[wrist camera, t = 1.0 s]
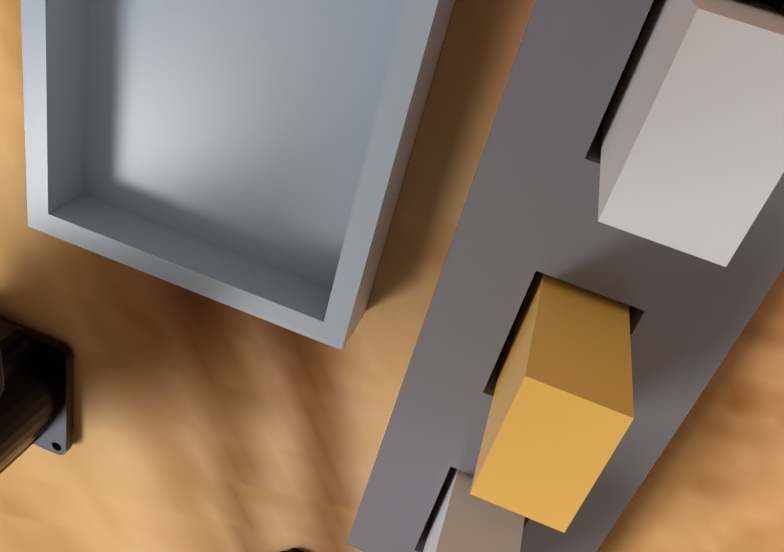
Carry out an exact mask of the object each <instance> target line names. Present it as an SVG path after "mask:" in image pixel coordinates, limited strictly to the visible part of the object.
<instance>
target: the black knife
mask: <svg viewBox="0 0 784 552" xmlns="http://www.w3.org/2000/svg"><path fill="white" fill-rule="evenodd" d="M282 552H304V551H302V550H298V549H295V548H292V549H290V550H288V551H282Z"/></svg>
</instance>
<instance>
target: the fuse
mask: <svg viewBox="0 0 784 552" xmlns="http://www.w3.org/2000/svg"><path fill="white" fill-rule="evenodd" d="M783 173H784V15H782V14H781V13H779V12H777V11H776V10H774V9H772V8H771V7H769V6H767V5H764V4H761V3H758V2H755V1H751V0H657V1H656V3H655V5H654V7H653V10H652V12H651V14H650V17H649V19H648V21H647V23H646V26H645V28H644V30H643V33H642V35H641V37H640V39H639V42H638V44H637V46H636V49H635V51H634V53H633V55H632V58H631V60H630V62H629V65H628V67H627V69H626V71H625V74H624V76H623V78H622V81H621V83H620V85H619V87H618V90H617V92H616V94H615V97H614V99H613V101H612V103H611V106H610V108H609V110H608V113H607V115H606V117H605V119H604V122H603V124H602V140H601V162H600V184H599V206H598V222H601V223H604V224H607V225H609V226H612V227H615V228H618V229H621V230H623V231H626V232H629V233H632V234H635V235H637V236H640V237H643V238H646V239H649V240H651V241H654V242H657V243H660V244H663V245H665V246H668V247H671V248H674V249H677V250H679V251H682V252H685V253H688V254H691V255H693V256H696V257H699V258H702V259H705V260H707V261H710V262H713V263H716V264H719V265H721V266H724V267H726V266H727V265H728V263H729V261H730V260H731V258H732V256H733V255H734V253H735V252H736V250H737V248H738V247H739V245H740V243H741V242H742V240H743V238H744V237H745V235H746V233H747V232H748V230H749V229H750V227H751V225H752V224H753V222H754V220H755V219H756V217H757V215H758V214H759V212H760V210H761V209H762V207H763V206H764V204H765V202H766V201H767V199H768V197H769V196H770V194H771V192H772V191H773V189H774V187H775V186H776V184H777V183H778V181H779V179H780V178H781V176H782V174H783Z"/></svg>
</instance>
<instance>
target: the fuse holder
mask: <svg viewBox="0 0 784 552" xmlns="http://www.w3.org/2000/svg"><path fill="white" fill-rule="evenodd" d="M653 1H654V0H536V2H535V5H534V8H533V11H532V13H531V16H530V19H529V22H528V25H527V28H526V31H525V34H524V36H523V39H522V42H521V45H520V48H519V51H518V54H517V56H516V59H515V62H514V65H513V68H512V71H511V74H510V77H509V79H508V82H507V85H506V88H505V91H504V94H503V97H502V99H501V102H500V105H499V108H498V111H497V114H496V117H495V120H494V122H493V125H492V128H491V131H490V134H489V137H488V140H487V143H486V145H485V148H484V151H483V154H482V157H481V160H480V163H479V165H478V168H477V171H476V174H475V177H474V180H473V183H472V186H471V188H470V191H469V194H468V197H467V200H466V203H465V206H464V208H463V211H462V214H461V217H460V220H459V223H458V226H457V229H456V231H455V234H454V237H453V240H452V243H451V246H450V249H449V251H448V254H447V257H446V260H445V263H444V266H443V269H442V272H441V274H440V277H439V280H438V283H437V286H436V289H435V292H434V294H433V297H432V300H431V303H430V306H429V309H428V312H427V315H426V317H425V320H424V323H423V326H422V329H421V332H420V335H419V338H418V340H417V343H416V346H415V349H414V352H413V355H412V358H411V360H410V363H409V366H408V369H407V372H406V375H405V378H404V381H403V383H402V386H401V389H400V392H399V395H398V398H397V401H396V403H395V406H394V409H393V412H392V415H391V418H390V421H389V424H388V426H387V429H386V432H385V435H384V438H383V441H382V444H381V446H380V449H379V452H378V455H377V458H376V461H375V464H374V467H373V469H372V472H371V475H370V478H369V481H368V484H367V487H366V489H365V492H364V495H363V498H362V501H361V504H360V507H359V510H358V512H357V515H356V518H355V521H354V524H353V527H352V530H351V532H350V535H349V538H348V541H347V544H348V545H350V546H353V547H355V548H357V549H360V550H362V551H364V552H423V550H424V547H425V543H426V540H427V536H428V533H429V530H430V526H431V523H432V519H433V516H434V513H435V509H436V506H437V504H436V503H435V501H436V499H437V497H438V495H439V492H440V490H441V488H442V485H443V483H444V481H445V478H446V476H447V474H448V472H449V469H450V467H453V468H456V469H458V470H461V471H463V472H466V473H468V474H470V475H473V476H474V474H475V470H476V465H477V461H478V457H479V453H480V449H481V445H482V441H483V437H484V433H485V428H486V424H487V420H488V416H489V412H490V408H491V404H492V400H493V396H494V392H495V387H496V383H497V379H498V375H499V371H500V367H501V363H502V359H503V355H504V352H501V350H502V348H503V345H504V343H505V341H506V338H507V336H508V334H509V331H510V329H511V327H512V325H513V322H514V320H515V318H516V315H517V313H518V311H519V309H520V306H521V304H522V302H523V299H524V297H525V295H526V292H527V290H528V288H529V286H530V283H531V281H532V279H533V276H534V274H535V272H536V271H538V272H541V273H543V274H546V275H549V276H551V277H554V278H557V279H560V280H562V281H565V282H568V283H570V284H573V285H576V286H579V287H581V288H584V289H587V290H589V291H592V292H595V293H597V294H600V295H603V296H606V297H608V298H611V299H614V300H616V301H619V302H622V303H625V304H627V305H629V317H630V339H631V362H632V384H633V406H634V419H633V421H632V423H631V424H630V426H629V428H628V429H627V431H626V432H625V434H624V436H623V437H622V439H621V441H620V442H619V444H618V446H617V447H616V449H615V451H614V452H613V454H612V455H611V457H610V459H609V460H608V462H607V464H606V465H605V467H604V469H603V470H602V472H601V474H600V475H599V477H598V478H597V480H596V482H595V483H594V485H593V487H592V488H591V490H590V492H589V493H588V495H587V497H586V498H585V500H584V501H583V503H582V505H581V506H580V508H579V510H578V511H577V513H576V515H575V516H574V518H573V520H572V521H571V523H570V524H569V526H568V528H567V529H566V531H565V533H563V532H561V531H559V530H556V529H554V528H551V527H549V526H546V525H544V524H542V523H539V522H537V521H534V520H532V519H529V518H527V517H525V520H524V527H523V534H522V541H521V548H520V552H596V551H597V550H598V548H599V547H600V545H601V544H602V542H603V541H604V539H605V538H606V536H607V535H608V533H609V532H610V530H611V529H612V527H613V526H614V524H615V523H616V521H617V520H618V518H619V517H620V515H621V514H622V512H623V511H624V509H625V508H626V506H627V505H628V503H629V502H630V500H631V499H632V497H633V496H634V494H635V493H636V491H637V490H638V488H639V487H640V485H641V484H642V482H643V481H644V479H645V478H646V476H647V475H648V473H649V471H650V470H651V468H652V467H653V465H654V464H655V462H656V461H657V459H658V458H659V456H660V455H661V453H662V452H663V450H664V449H665V447H666V446H667V444H668V443H669V441H670V440H671V438H672V437H673V435H674V434H675V432H676V431H677V429H678V428H679V426H680V425H681V423H682V422H683V420H684V419H685V417H686V416H687V414H688V413H689V411H690V410H691V408H692V407H693V405H694V404H695V402H696V401H697V399H698V398H699V396H700V395H701V393H702V391H703V390H704V388H705V387H706V385H707V384H708V382H709V381H710V379H711V378H712V376H713V375H714V373H715V372H716V370H717V369H718V367H719V366H720V364H721V363H722V361H723V360H724V358H725V357H726V355H727V354H728V352H729V351H730V349H731V348H732V346H733V345H734V343H735V342H736V340H737V339H738V337H739V336H740V334H741V333H742V331H743V330H744V328H745V327H746V325H747V324H748V322H749V321H750V319H751V318H752V316H753V315H754V313H755V312H756V310H757V308H758V307H759V305H760V304H761V302H762V301H763V299H764V298H765V296H766V295H767V293H768V292H769V290H770V289H771V287H772V286H773V284H774V283H775V281H776V280H777V278H778V277H779V275H780V274H781V272H782V271H783V269H784V173H783V174H782V176H781V178H780V179H779V181H778V183H777V184H776V186H775V187H774V189H773V191H772V192H771V194H770V196H769V197H768V199H767V201H766V202H765V204H764V206H763V207H762V209H761V210H760V212H759V214H758V215H757V217H756V219H755V220H754V222H753V224H752V225H751V227H750V229H749V230H748V232H747V233H746V235H745V237H744V238H743V240H742V242H741V243H740V245H739V247H738V248H737V250H736V252H735V253H734V255H733V256H732V258H731V260H730V261H729V263H728V265H727V266H726V267H724V266H721V265H719V264H716V263H713V262H710V261H707V260H705V259H702V258H699V257H696V256H693V255H691V254H688V253H685V252H682V251H679V250H677V249H674V248H671V247H668V246H665V245H663V244H660V243H657V242H654V241H651V240H649V239H646V238H643V237H640V236H637V235H635V234H632V233H629V232H626V231H623V230H621V229H618V228H615V227H612V226H609V225H607V224H604V223H601V222H598V206H599V184H600V162H601V140H602V136H599V135H596V132H597V129H598V127H599V125H600V123H601V120H602V118H603V116H604V113H605V111H606V109H607V106H608V104H609V102H610V100H611V97H612V95H613V93H614V90H615V88H616V86H617V83H618V81H619V79H620V77H621V74H622V72H623V70H624V67H625V65H626V63H627V60H628V58H629V56H630V54H631V51H632V49H633V47H634V44H635V42H636V40H637V38H638V35H639V33H640V31H641V28H642V26H643V24H644V21H645V19H646V17H647V15H648V12H649V10H650V8H651V5H652V3H653ZM779 13H781V14H782V15H784V3H783V5H782V7H781V9H780V10H779Z"/></svg>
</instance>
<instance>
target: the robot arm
mask: <svg viewBox="0 0 784 552" xmlns="http://www.w3.org/2000/svg"><path fill="white" fill-rule="evenodd" d="M72 379H73V354H72V351H71V349H70V348H69V347H68V346H67V345H66V344H65V343H63V342H61V341H58V340H56V339H53V338H51V337H49V336H46V335H44V334H41V333H39V332H36V331H34V330H32V329H29V328H27V327H24V326H22V325H20V324H17V323H15V322H12V321H10V320H7V319H5V318H3V317H0V474H1V473H2V472H3V471H4V470H5V469H6V468H7V467H8V466H9V465H11V464H12V463H13V462H14V461H15V460H16V459H17V458H18V457H19V456H20V455H21V454H22V453H24V452H25V451H26V450H27V449H28V448H29V447H30V446H31V445H32V444H35V445H37V446H40V447H42V448H44V449H47V450H49V451H51V452H54V453H56V454H59V455H63V454H65V453H66V452H67V451H68V450H69V449H70V448H71V446H72Z"/></svg>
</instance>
